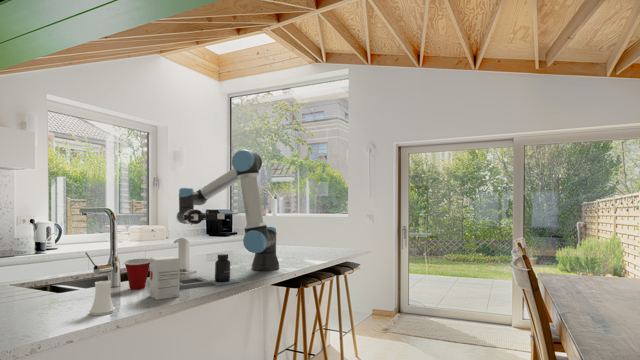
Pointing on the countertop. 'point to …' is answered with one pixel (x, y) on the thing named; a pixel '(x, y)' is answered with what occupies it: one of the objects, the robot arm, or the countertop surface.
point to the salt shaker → (102, 299)
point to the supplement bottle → (222, 268)
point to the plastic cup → (137, 272)
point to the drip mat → (224, 282)
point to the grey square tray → (199, 283)
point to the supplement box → (164, 277)
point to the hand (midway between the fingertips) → (210, 216)
